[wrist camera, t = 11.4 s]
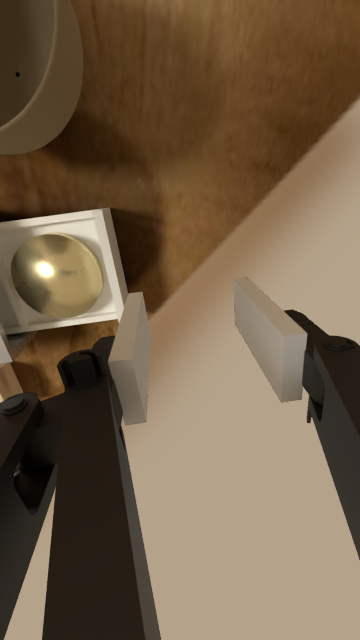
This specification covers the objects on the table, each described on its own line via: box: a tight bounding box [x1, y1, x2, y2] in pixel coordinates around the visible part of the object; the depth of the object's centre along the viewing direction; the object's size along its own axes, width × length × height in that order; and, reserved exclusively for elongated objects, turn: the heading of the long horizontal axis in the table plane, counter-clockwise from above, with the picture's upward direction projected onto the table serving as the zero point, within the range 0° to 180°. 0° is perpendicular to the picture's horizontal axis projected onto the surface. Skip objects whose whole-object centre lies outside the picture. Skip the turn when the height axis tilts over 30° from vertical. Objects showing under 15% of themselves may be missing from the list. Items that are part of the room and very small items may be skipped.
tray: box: [0, 207, 128, 335], centre depth 26 cm, size 15×11×4 cm
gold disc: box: [11, 232, 104, 318], centre depth 26 cm, size 8×8×2 cm
